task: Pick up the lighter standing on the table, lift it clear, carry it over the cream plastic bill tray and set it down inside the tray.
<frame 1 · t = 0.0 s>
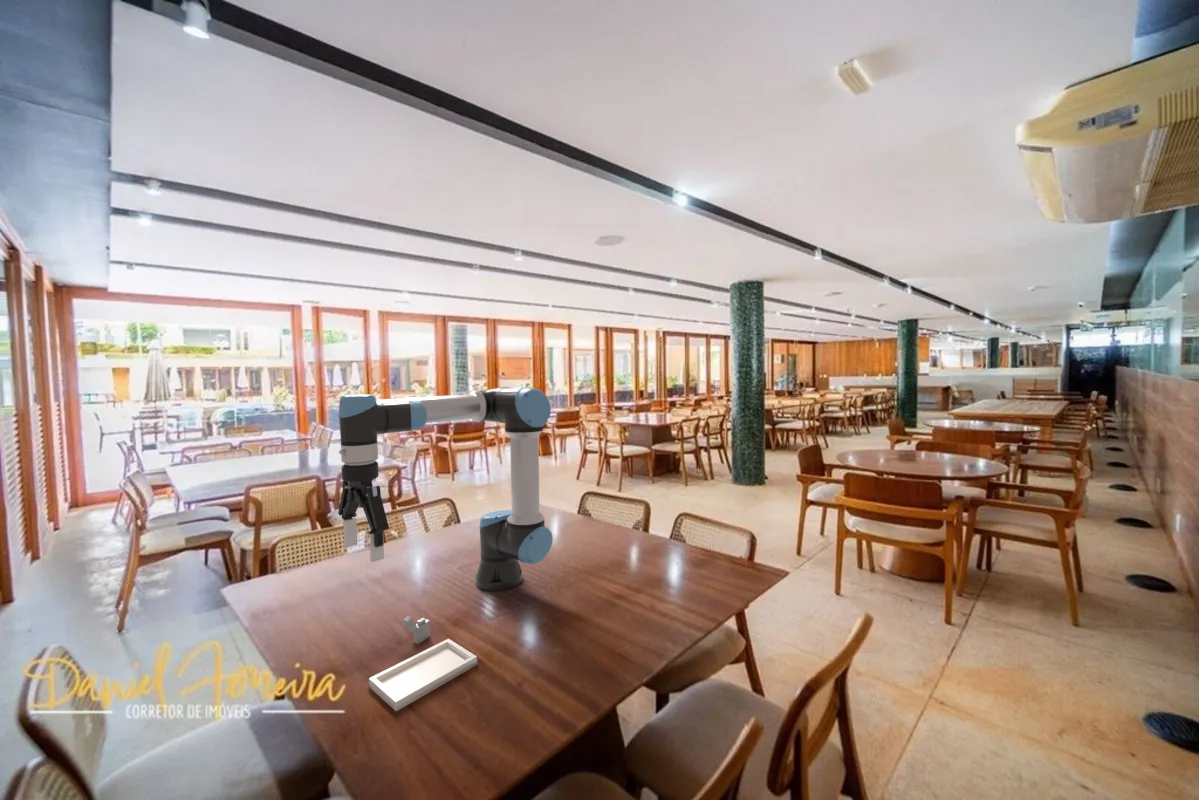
hand: (363, 552, 110), 28 cm above the table, fingers open, 13 cm apart
lighter: (417, 642, 123), on the table
tray: (425, 675, 109), on the table
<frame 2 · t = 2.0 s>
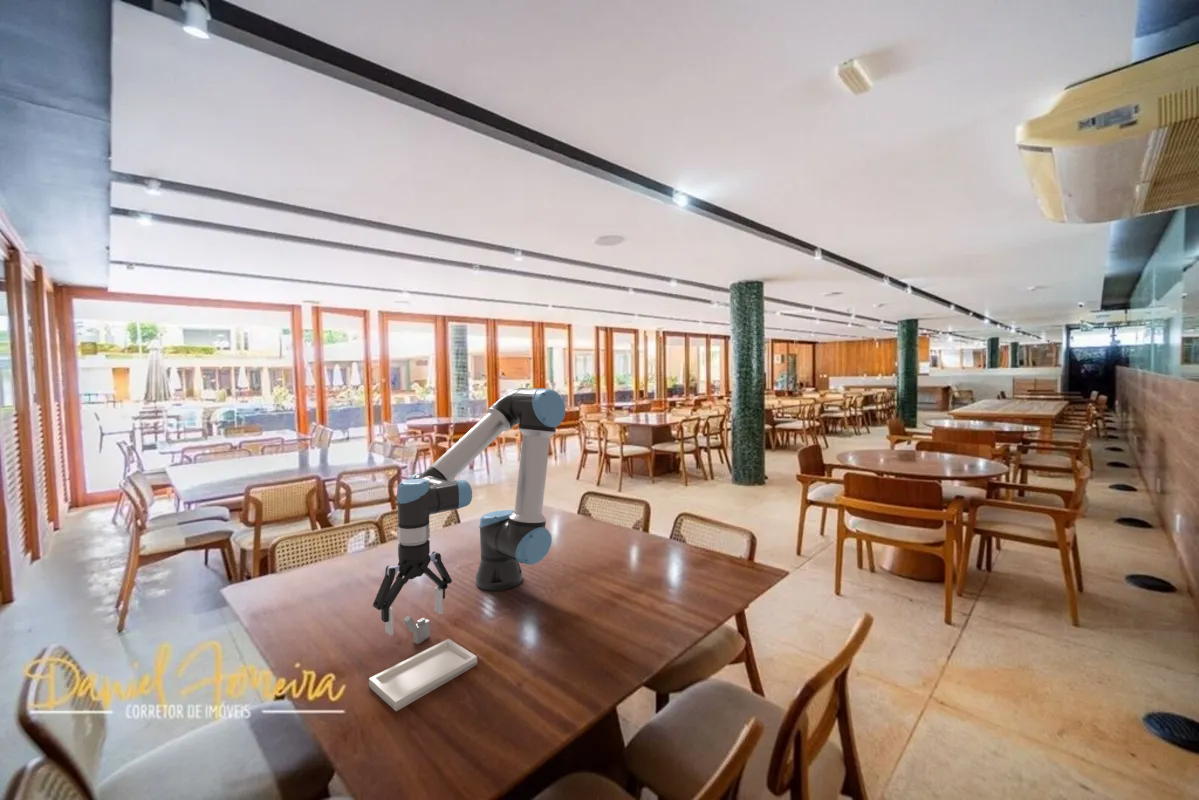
hand: (415, 622, 122), 5 cm above the table, fingers open, 13 cm apart
nothing on the table moved.
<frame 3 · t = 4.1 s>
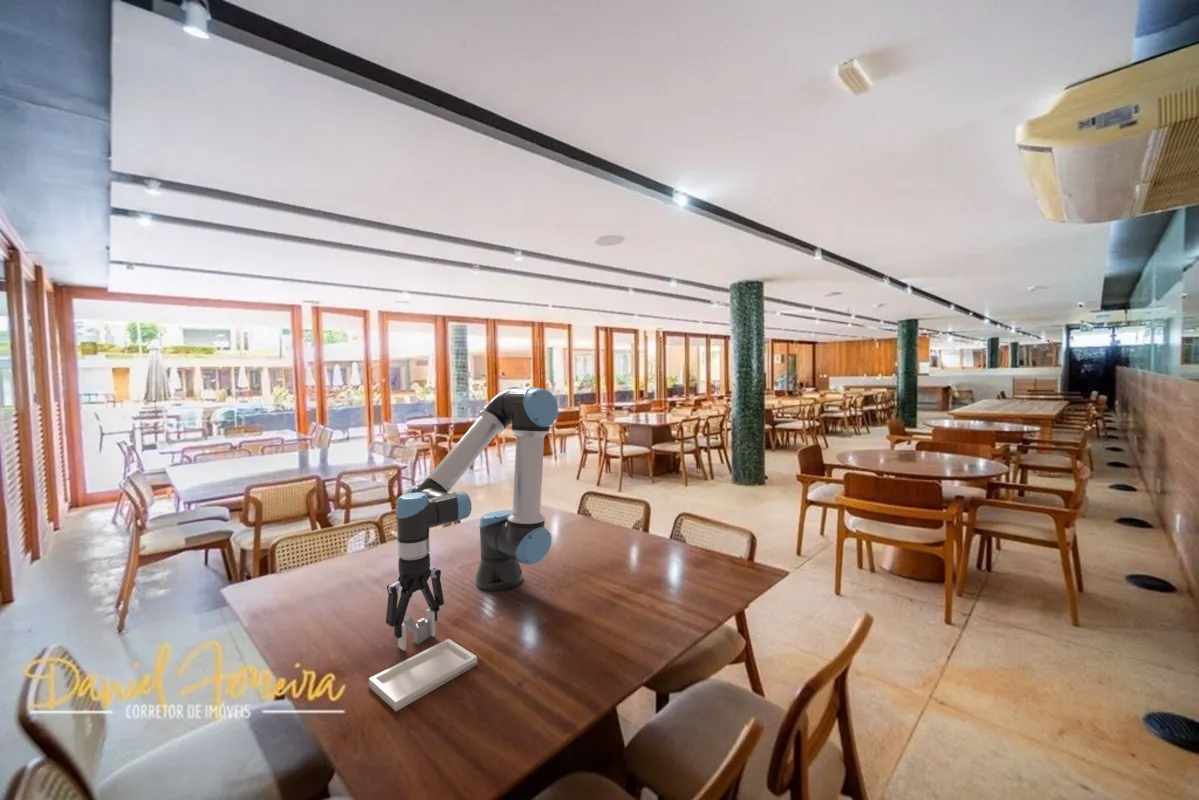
hand: (417, 641, 123), 0 cm above the table, fingers closed on lighter, 7 cm apart
lighter: (417, 642, 123), on the table, touching gripper
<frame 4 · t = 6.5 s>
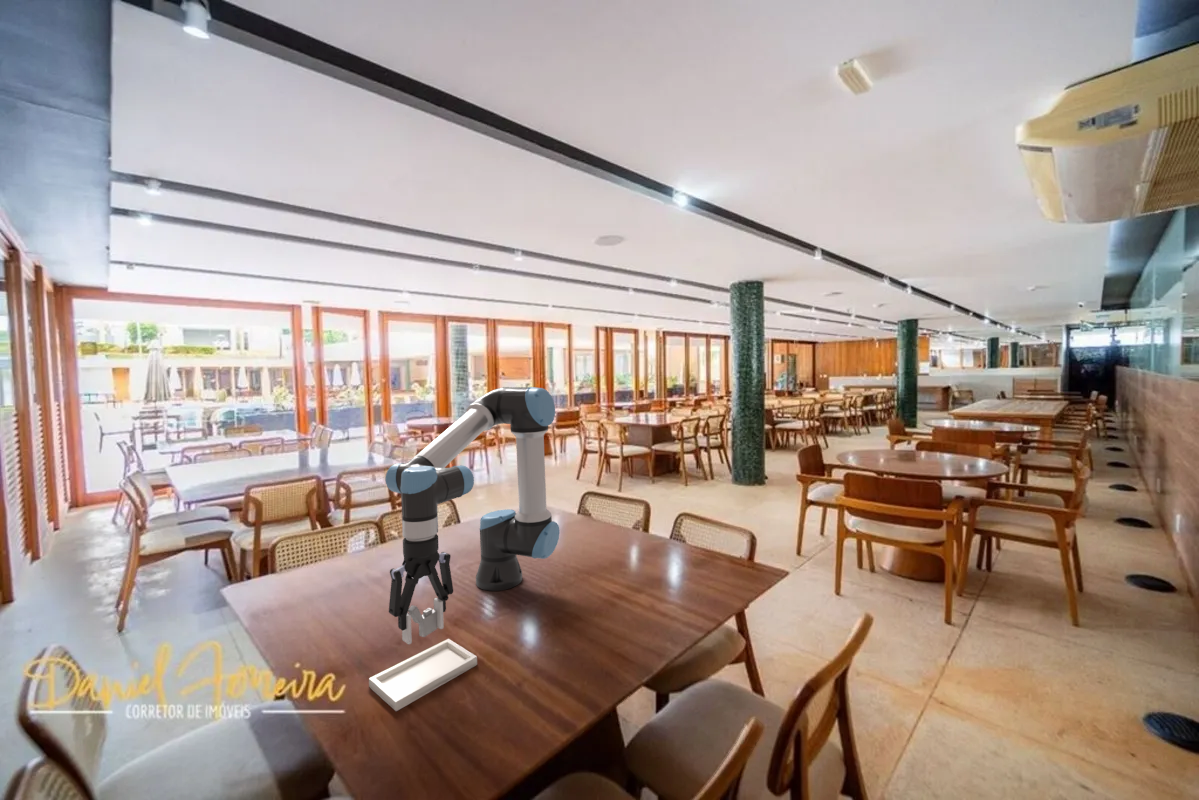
hand: (423, 633, 108), 10 cm above the table, fingers closed on lighter, 7 cm apart
lighter: (423, 635, 108), point 9 cm above the table, touching gripper
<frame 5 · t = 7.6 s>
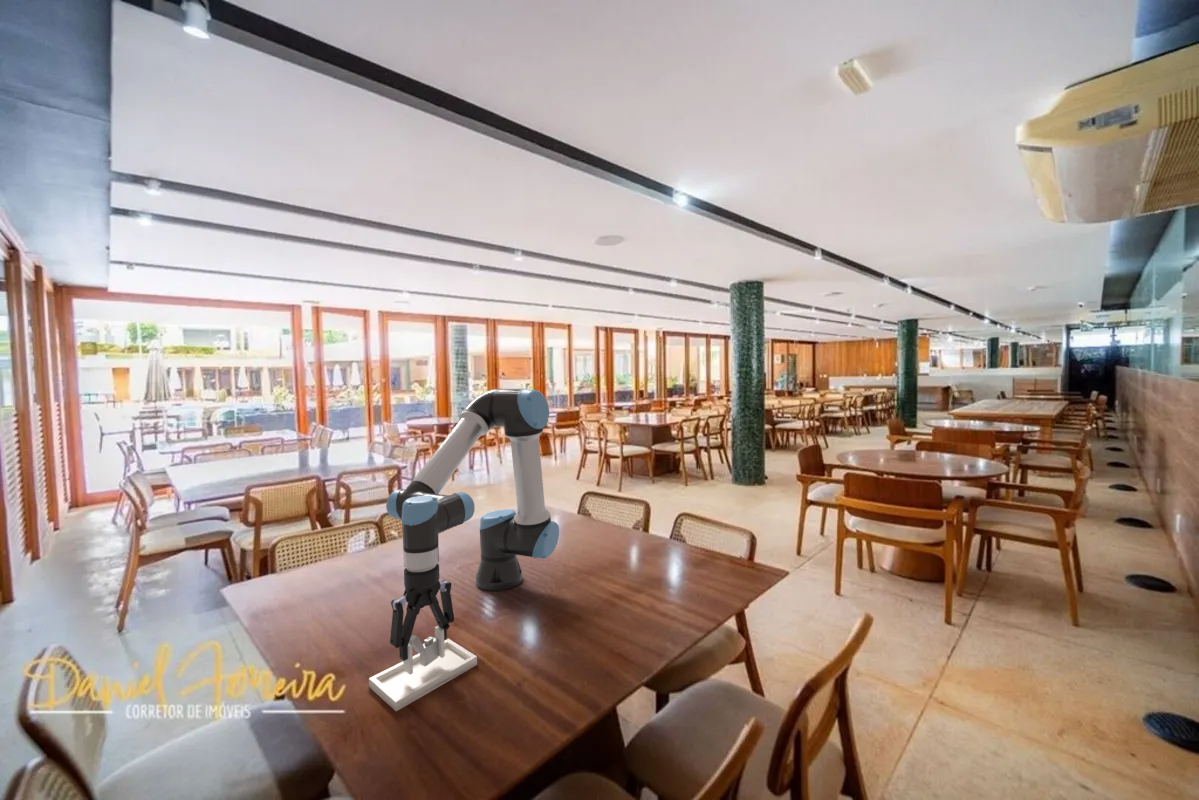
hand: (424, 662, 109), 3 cm above the table, fingers closed on lighter, 7 cm apart
lighter: (424, 665, 109), point 2 cm above the table, touching gripper
when the fingers open (3 cm above the table, at t = 8.5 s): lighter drops 1 cm, resting on tray.
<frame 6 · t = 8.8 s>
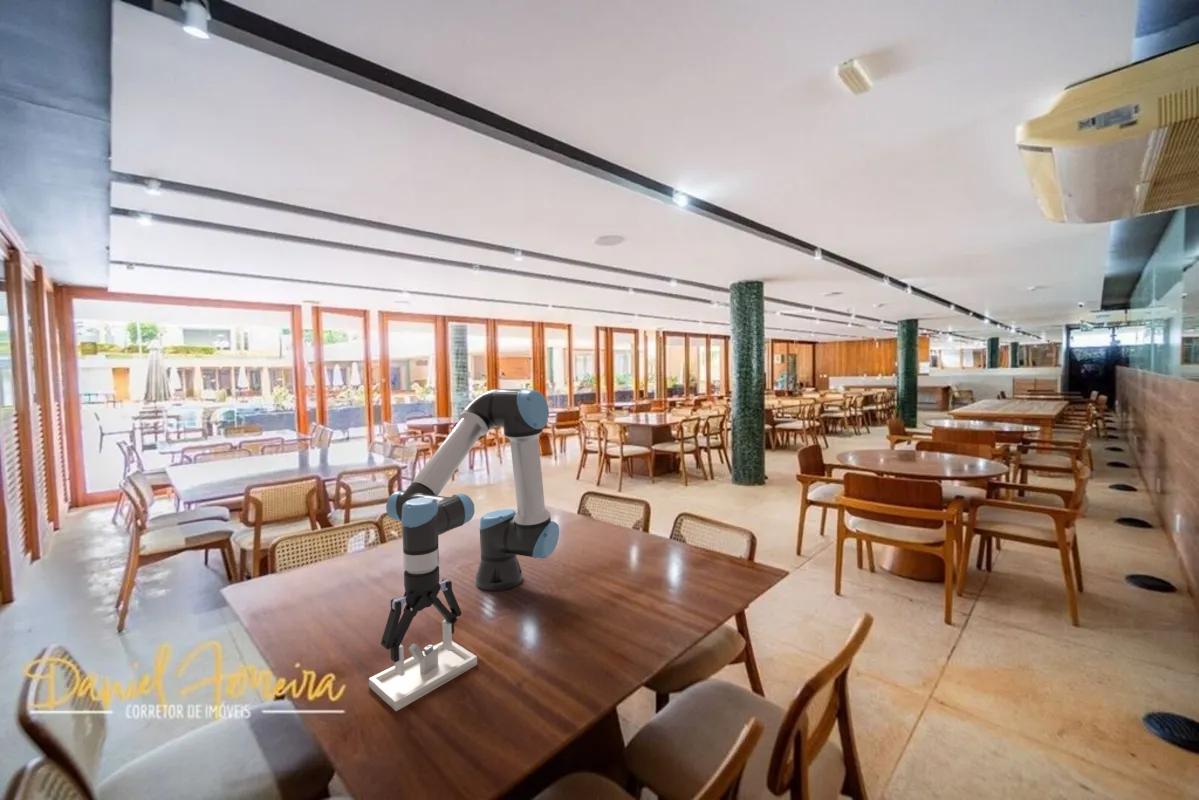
hand: (424, 660, 109), 4 cm above the table, fingers open, 11 cm apart
lighter: (424, 673, 109), point 1 cm above the table, touching tray
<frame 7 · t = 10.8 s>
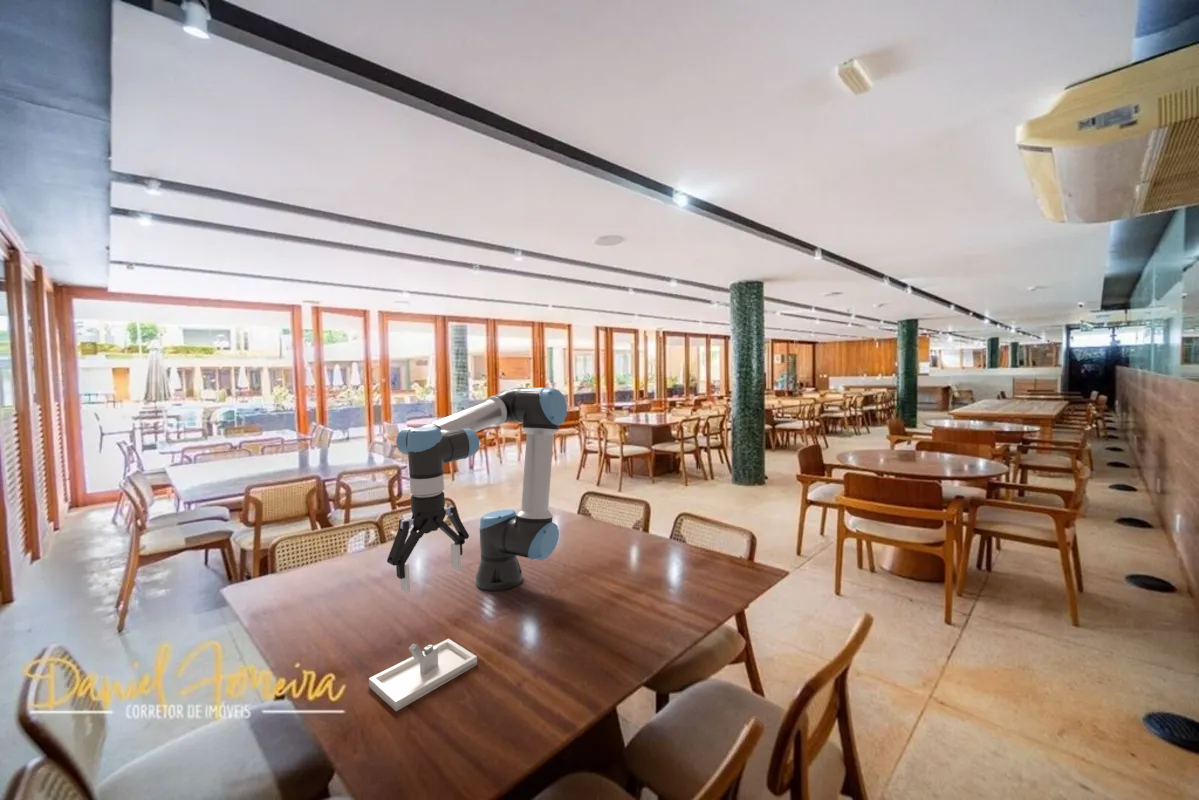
hand: (432, 579, 114), 20 cm above the table, fingers open, 13 cm apart
nothing on the table moved.
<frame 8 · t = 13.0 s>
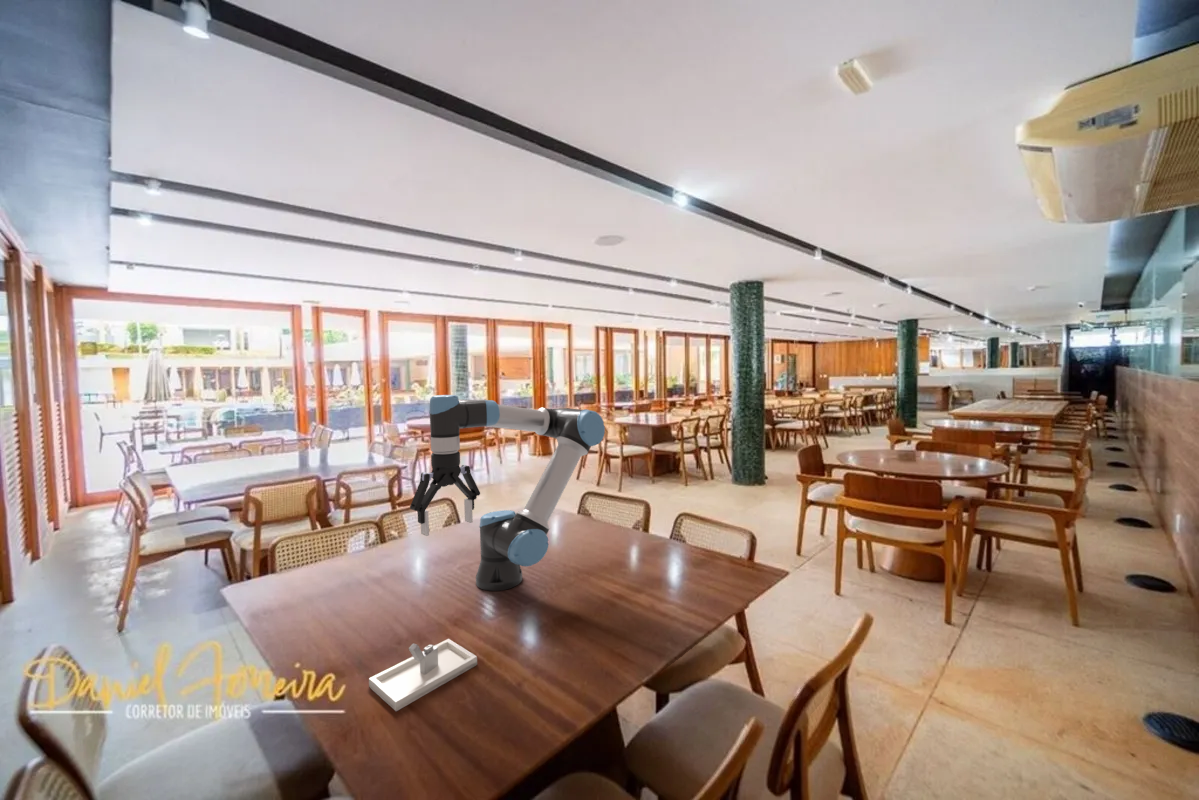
hand: (447, 528, 131), 27 cm above the table, fingers open, 13 cm apart
nothing on the table moved.
at the end: lighter inside the target area on the tray (0.1 cm from its centre), point 0.6 cm above the tray's base; lighter touching tray; the gripper is holding nothing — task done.
